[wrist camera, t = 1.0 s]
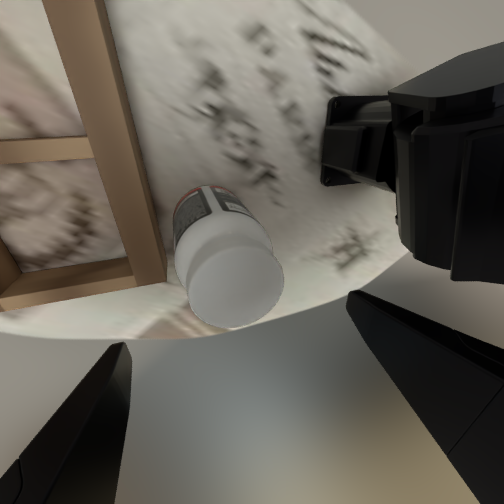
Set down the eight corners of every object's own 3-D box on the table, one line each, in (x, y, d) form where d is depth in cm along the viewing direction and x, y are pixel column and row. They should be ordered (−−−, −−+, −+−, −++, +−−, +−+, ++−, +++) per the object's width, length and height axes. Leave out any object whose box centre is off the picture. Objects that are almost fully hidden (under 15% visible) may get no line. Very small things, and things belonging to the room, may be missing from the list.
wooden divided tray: (85, -76, 11) (60, -133, 9) (167, 261, 20) (166, 281, 18) (-293, -125, 8) (-492, -230, 6) (-4, 289, 18) (-33, 318, 15)
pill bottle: (185, 257, 21) (193, 351, 12) (162, 193, 18) (153, 257, 9) (248, 240, 22) (296, 315, 13) (237, 176, 19) (289, 221, 10)
